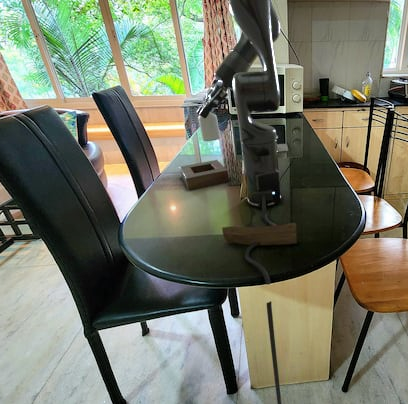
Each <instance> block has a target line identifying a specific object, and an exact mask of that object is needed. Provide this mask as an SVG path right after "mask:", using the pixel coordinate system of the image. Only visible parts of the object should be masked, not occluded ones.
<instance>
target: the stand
mask: <svg viewBox="0 0 408 404" xmlns="http://www.w3.org/2000/svg"><path fill="white" fill-rule="evenodd" d="M179 170H180V175H181V178H182V181H183V182H184V184H185V186H186V187H187V189H188V191H191V190H196V189H201V188H205V187H210V186H215V185H219V184H224V183H228V182H230V178H229V172H228V171H229V170H228V169H227V168H226V167H225V166H224V165H223V164H222V163H221V162H220V161H219V160H218V159H213V160H208V161H203V162H198V163H192V164H186V165H180V166H179Z"/></svg>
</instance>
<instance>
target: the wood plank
mask: <svg viewBox="0 0 408 404" xmlns="http://www.w3.org/2000/svg"><path fill="white" fill-rule="evenodd" d="M221 229H222V235H223V238H224V240H226V242H227V243H237V244H240V245H249V246H250V245H252V244H253V243H255V242H260V245H259V246H275V245H277V246H278V245H279V246H281V245H295V244H297V243H298V241H297V239H298V238H297V222H290V223H285V224H276V225H275V226H271V225H266V226H249V227H247V226H233V225H232V226H224V227H221Z"/></svg>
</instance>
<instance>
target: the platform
mask: <svg viewBox="0 0 408 404" xmlns="http://www.w3.org/2000/svg"><path fill="white" fill-rule="evenodd" d="M276 138H277V139H278V138H279V135H276ZM289 151H290V150H289V147H288V144H287V143H277V153H278V152H289Z"/></svg>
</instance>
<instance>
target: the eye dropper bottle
mask: <svg viewBox="0 0 408 404" xmlns="http://www.w3.org/2000/svg"><path fill="white" fill-rule="evenodd" d="M205 105H207V104H206V101H204V105H203V106H202V109H203V108H204V106H205ZM198 124H199V130H200V134H201V139H202V141H203V142H213V141H217V140H220V139H221V135H220V133H221V132H220V127H219V122H218V117H217V115H216V114H215V113H212V112H210V113H209V115H208V116H207V117H206V118H203V117H202V116H200V115H198Z"/></svg>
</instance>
